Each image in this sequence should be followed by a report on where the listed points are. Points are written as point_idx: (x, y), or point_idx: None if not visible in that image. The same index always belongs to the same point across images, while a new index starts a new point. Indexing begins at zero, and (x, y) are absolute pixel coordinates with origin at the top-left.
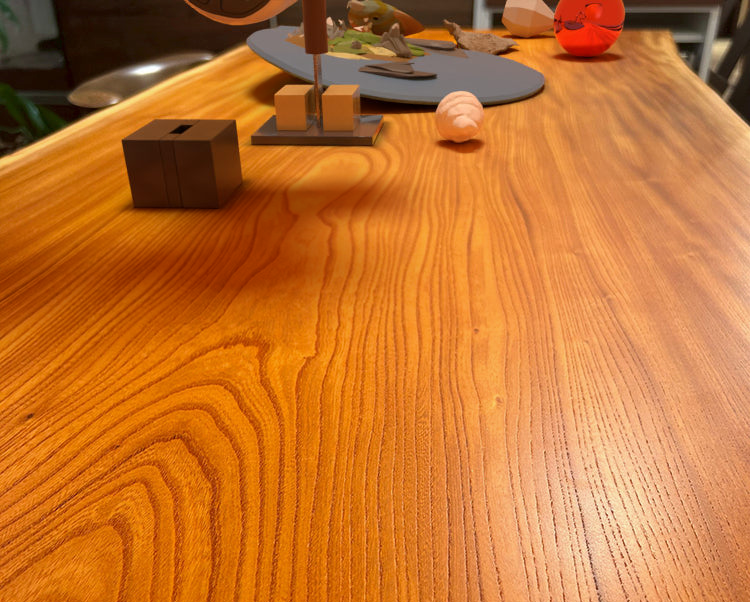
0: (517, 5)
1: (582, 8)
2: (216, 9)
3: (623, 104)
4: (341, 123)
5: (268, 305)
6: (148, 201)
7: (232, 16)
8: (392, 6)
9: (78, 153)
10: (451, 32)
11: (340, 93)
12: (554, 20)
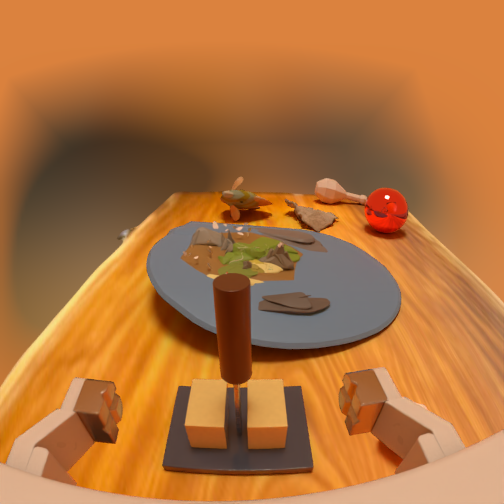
0: (325, 186)
1: (388, 207)
2: None
3: (464, 316)
4: (270, 444)
5: None
6: None
7: None
8: (252, 193)
9: (3, 460)
10: (289, 205)
11: (270, 420)
12: (367, 210)
